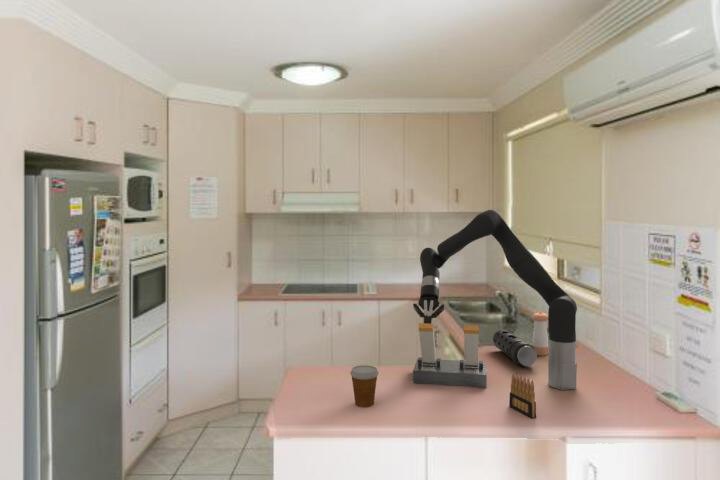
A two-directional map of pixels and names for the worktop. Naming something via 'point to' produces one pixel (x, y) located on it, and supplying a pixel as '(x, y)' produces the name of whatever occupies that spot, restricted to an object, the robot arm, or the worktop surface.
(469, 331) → the lever near
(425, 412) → the worktop surface
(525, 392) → the ammunition clip
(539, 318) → the pepper shaker
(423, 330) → the lever far
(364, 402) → the disposable coffee cup
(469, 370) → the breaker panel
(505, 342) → the muzzle brake
